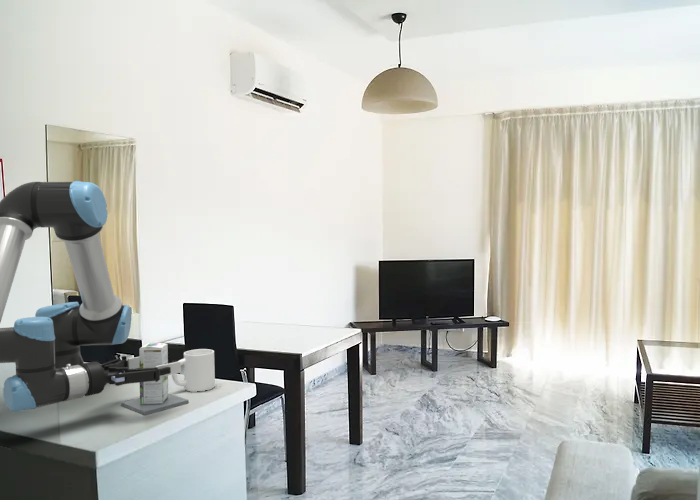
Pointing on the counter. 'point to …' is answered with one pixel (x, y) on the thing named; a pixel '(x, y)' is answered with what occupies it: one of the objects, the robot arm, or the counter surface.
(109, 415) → the counter surface
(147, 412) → the coaster
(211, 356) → the mug
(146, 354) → the syrup box
